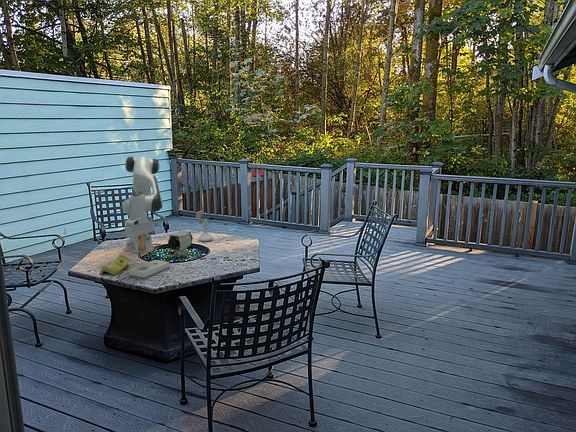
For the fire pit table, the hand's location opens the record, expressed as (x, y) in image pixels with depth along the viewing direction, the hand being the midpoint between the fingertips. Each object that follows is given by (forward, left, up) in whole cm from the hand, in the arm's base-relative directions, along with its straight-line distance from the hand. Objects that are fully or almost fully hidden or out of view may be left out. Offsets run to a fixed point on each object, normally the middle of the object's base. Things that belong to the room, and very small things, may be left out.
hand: (141, 242), depth 257 cm
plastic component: (-22, -1, -21) cm, 30 cm away
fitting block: (0, +5, -20) cm, 21 cm away
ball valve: (-4, +40, -21) cm, 45 cm away
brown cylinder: (0, 0, -5) cm, 5 cm away
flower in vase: (-15, +80, -21) cm, 84 cm away
